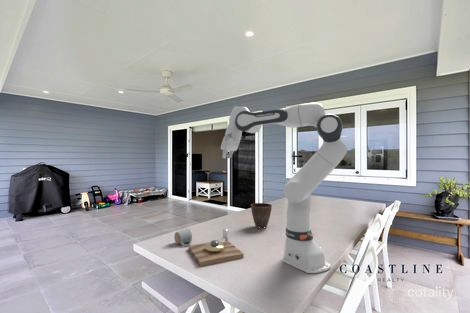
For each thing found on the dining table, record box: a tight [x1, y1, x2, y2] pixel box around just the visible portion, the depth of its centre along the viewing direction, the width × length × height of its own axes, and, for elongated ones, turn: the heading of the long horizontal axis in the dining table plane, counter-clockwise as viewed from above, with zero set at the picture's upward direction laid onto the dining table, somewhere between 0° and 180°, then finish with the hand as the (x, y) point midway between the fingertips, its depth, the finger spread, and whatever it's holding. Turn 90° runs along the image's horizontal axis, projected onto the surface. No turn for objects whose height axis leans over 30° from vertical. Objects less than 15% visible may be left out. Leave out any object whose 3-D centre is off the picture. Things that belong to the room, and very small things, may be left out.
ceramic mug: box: [173, 227, 193, 247], centre depth 130 cm, size 11×8×8 cm
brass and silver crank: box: [205, 228, 229, 253], centre depth 119 cm, size 10×16×8 cm, turn 145°
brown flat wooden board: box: [188, 240, 245, 267], centre depth 116 cm, size 22×22×2 cm
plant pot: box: [250, 202, 273, 229], centre depth 162 cm, size 15×15×16 cm
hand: (226, 158), depth 128 cm, fingers open, 8 cm apart
